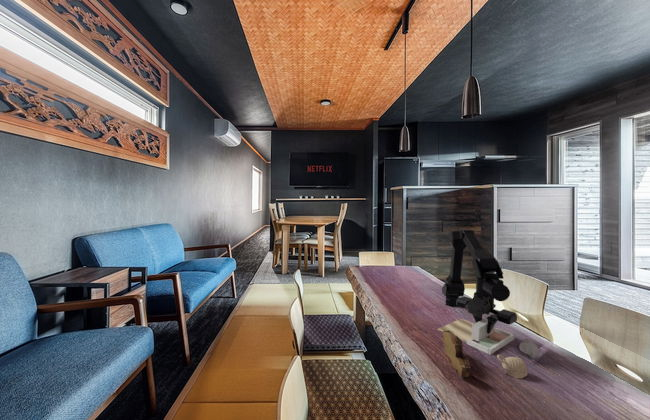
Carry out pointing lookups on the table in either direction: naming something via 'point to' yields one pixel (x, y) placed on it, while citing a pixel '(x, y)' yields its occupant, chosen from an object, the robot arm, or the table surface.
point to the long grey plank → (481, 330)
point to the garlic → (529, 349)
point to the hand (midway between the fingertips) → (484, 331)
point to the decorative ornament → (514, 366)
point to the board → (460, 329)
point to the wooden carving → (456, 353)
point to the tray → (496, 346)
